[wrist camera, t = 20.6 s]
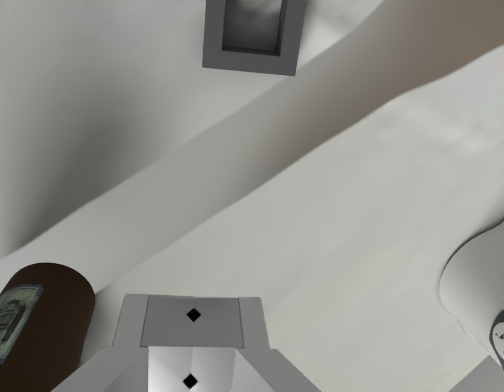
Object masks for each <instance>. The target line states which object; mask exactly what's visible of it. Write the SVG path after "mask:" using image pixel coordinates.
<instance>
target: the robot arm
mask: <svg viewBox="0 0 504 392" xmlns="http://www.w3.org/2000/svg"><path fill="white" fill-rule="evenodd" d="M439 294H440V299H441V302H442V304H443V306H444V308H445V309H446V310H447V311H448V312H449V313H450V314H451V315H452V316H453V317H455V318H456V319H457V320H458V321H459V322H460V323H461V325H462V328H463V330H464V332H465V334H466V335H467V336H468V337H469V338H470V339H471V340H475V341H476V340H477V341H478V342H479V343H480V344H481V345H482V347H483V348H484V349H485V350H486V351H487V352H488V353H489V354H490V355H491V356H492V357H493V358H494V359H495V360H496V361H497V363H498V364H499V365H500V366H501V367H502V368H503V370H504V221H503V222H502V223H501V224H500V225H498V226H497V227H495V228H493V229H491V230H489V231H486V232H484V233H482V234H480V235H478V236H477V237H475V238H473V239H472V240H470V241H469V242H468V243H466V244H465V245H464V246H463V247H461V248H460V249H459V250H458V251H457V252H456V253H455V254H454V256H453V257H452V258H451V259H450V261H449V262H448V264H447V266H446V267H445V269H444V271H443V274H442V277H441V280H440V286H439ZM51 392H321V391H320V390H319V389H318V388H317V387H316V386H315V385H314V384H313V383H312V382H311V381H309V380H308V379H307V378H306V377H305V376H304V375H303V374H302V373H301V372H300V371H299V370H298V369H297V368H296V367H295V366H294V365H293V364H292V363H291V362H290V361H289V360H287V359H286V358H285V357H284V356H283V355H282V354H281V353H280V352H279V351H278V350H277V349H270V346H269V340H268V334H267V329H266V323H265V317H264V312H263V306H262V301H261V299H260V298H259V297H238V298H224V297H193V296H173V295H153V294H150V295H148V294H126V295H125V297H124V300H123V304H122V308H121V312H120V315H119V319H118V323H117V327H116V331H115V335H114V339H113V343H112V347H104V348H102V349H101V350H100V351H99V352H98V353H96V354H95V355H94V356H93V357H92V358H90V359H89V360H88V361H87V362H86V363H84V364H83V365H82V366H81V367H80V368H78V369H77V370H76V371H75V372H74V373H72V374H71V375H70V376H69V377H68V378H66V379H65V380H64V381H63V382H62V383H60V384H59V385H58V386H57V387H56V388H54V389H53V390H52V391H51Z"/></svg>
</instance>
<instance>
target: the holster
mask: <svg viewBox="0 0 504 392" xmlns="http://www.w3.org/2000/svg"><path fill="white" fill-rule="evenodd" d="M305 6H306V0H282V4H281V12H280V20H279V28H278V35H277V43H276V51H267V50H258V49H248V48H238V47H229V46H222V38H223V26H224V13H225V0H206V13H205V29H204V46H203V62H202V67H204V68H215V69H225V70H235V71H246V72H256V73H266V74H277V75H287V76H295V73H296V66H297V59H298V53H299V46H300V39H301V33H302V26H303V19H304V13H305Z"/></svg>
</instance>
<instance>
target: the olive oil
mask: <svg viewBox="0 0 504 392" xmlns="http://www.w3.org/2000/svg"><path fill="white" fill-rule="evenodd" d="M94 305H95V295H94V291H93V289H92V287H91V285H90V283H89V282H88V281H87V280H86V278H85V277H83V276H82V275H81V274H80V273H79V272H77V271H75V270H74V269H72V268H70V267H67V266H64V265H60V264H56V263H36V264H32V265H29V266H26V267H24V268H22V269H21V270H19V271H18V272H17V273H16V274H15V275H14V276H13V277H12V278H11V279H10V281H9V282H8V283H7V285H6V286H5V288H4V289H3V290H2V292H1V293H0V392H51V391H52V390H53V389H54V388H56V387H57V386H58V385H59V384H60V383H62V382H63V381H64V380H65V379H66V378H68V377H69V376H70V375H71V374H72V373H74V372H75V371H76V370H77V367H78V364H79V360H80V356H81V352H82V348H83V345H84V341H85V337H86V334H87V330H88V327H89V323H90V320H91V317H92V313H93V310H94Z"/></svg>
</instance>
